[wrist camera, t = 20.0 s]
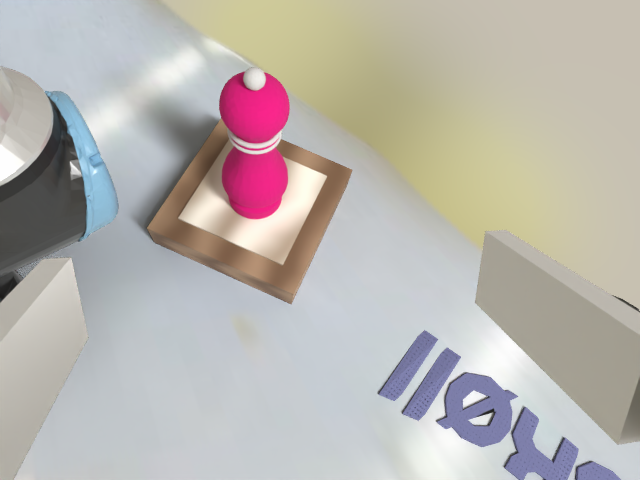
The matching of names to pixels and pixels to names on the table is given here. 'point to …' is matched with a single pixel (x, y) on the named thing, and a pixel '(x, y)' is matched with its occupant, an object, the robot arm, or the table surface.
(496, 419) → the signage
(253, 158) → the pepper mill
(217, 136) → the walnut stand
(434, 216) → the table surface
